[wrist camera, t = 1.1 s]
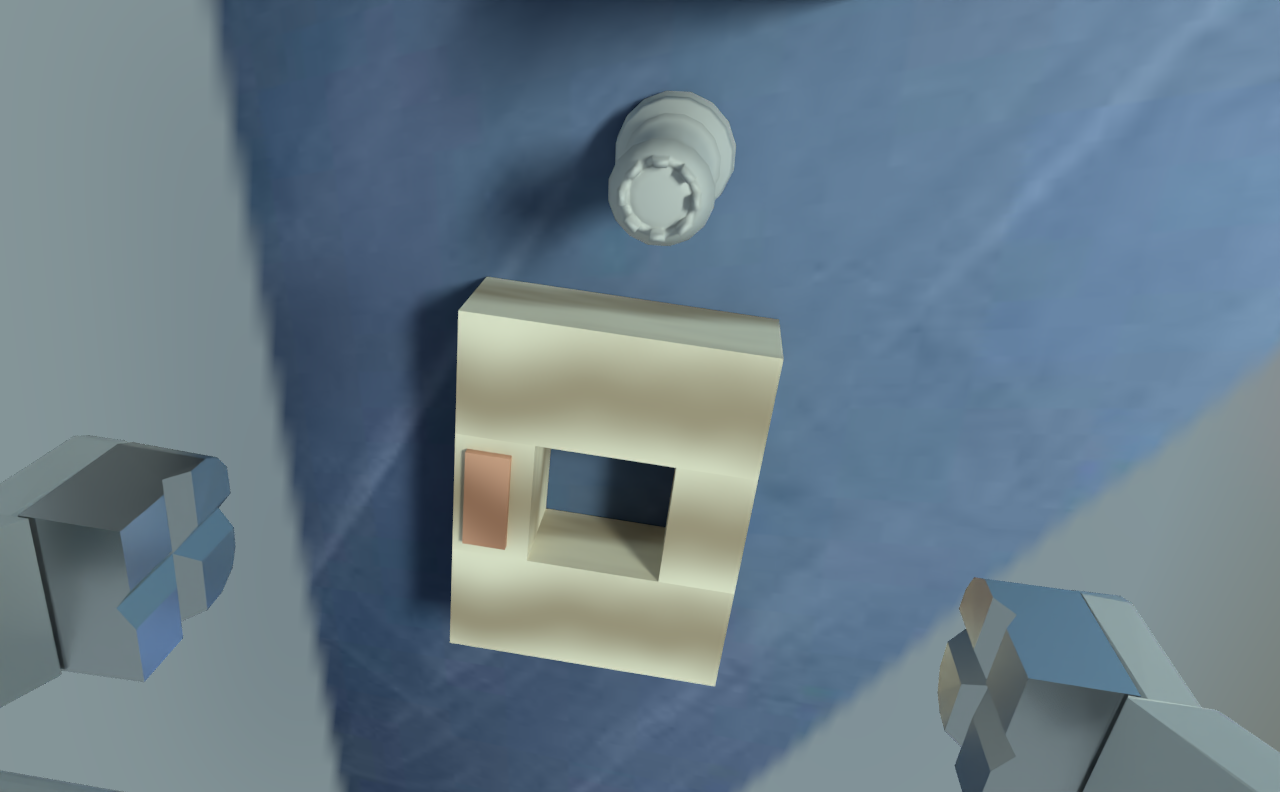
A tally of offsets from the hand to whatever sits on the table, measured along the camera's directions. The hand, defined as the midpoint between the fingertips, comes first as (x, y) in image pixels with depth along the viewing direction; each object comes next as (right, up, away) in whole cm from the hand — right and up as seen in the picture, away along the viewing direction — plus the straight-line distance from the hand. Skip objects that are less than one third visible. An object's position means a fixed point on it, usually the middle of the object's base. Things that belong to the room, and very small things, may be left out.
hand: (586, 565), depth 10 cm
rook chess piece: (+2, +11, +23) cm, 26 cm away
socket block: (-1, -1, +29) cm, 29 cm away
